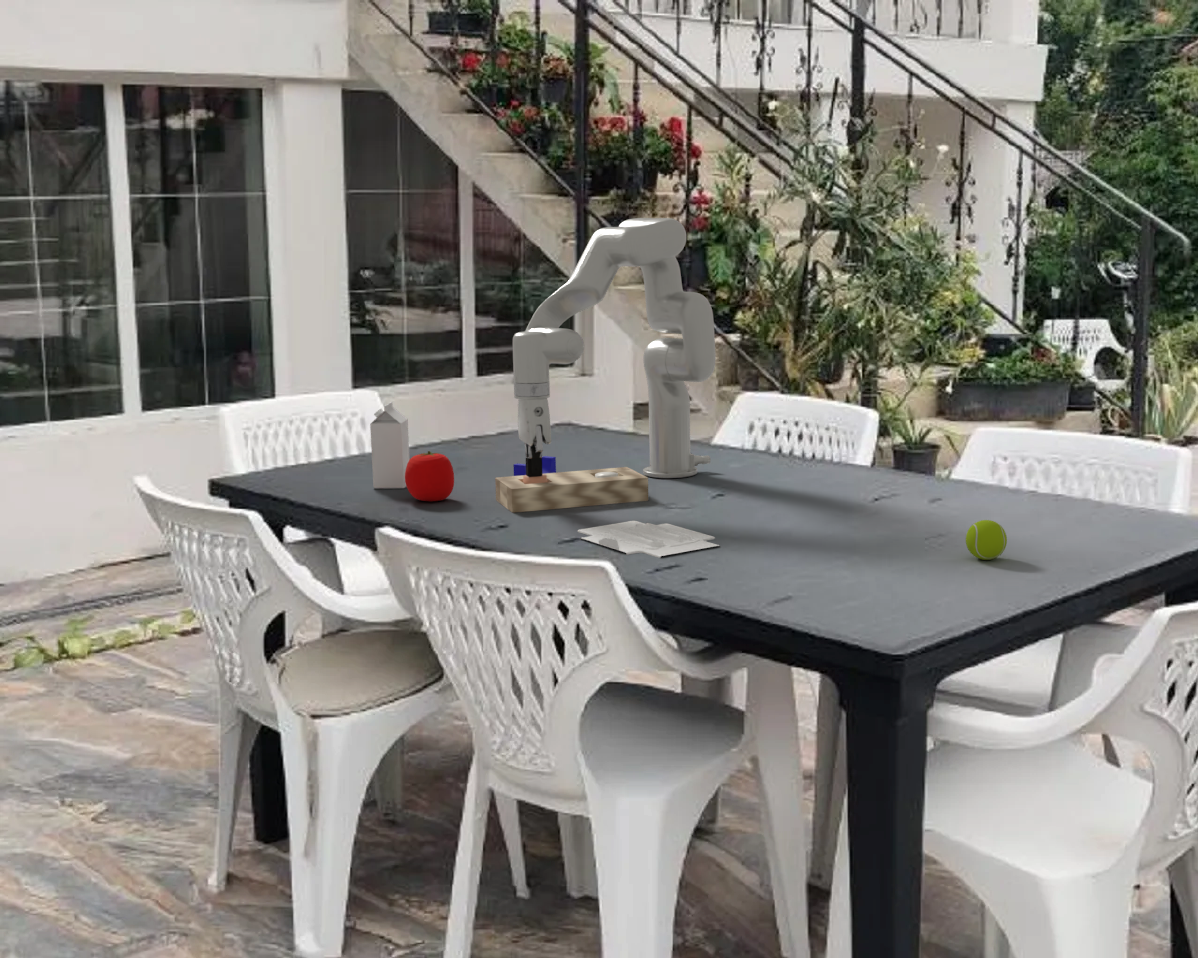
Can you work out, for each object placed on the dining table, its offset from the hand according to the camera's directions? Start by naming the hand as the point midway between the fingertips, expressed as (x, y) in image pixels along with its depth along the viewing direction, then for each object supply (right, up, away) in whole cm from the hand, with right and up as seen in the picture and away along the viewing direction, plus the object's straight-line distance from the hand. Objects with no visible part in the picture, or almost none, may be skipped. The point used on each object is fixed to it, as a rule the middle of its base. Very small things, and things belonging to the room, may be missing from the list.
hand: (534, 475), depth 324 cm
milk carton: (-34, -2, +25) cm, 42 cm away
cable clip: (-1, -3, +21) cm, 22 cm away
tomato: (-23, -6, +8) cm, 25 cm away
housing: (+8, -5, +4) cm, 10 cm away
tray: (+23, -13, -34) cm, 43 cm away
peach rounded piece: (0, -5, +1) cm, 5 cm away
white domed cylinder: (+15, -4, +6) cm, 17 cm away
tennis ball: (+82, -15, -56) cm, 100 cm away
